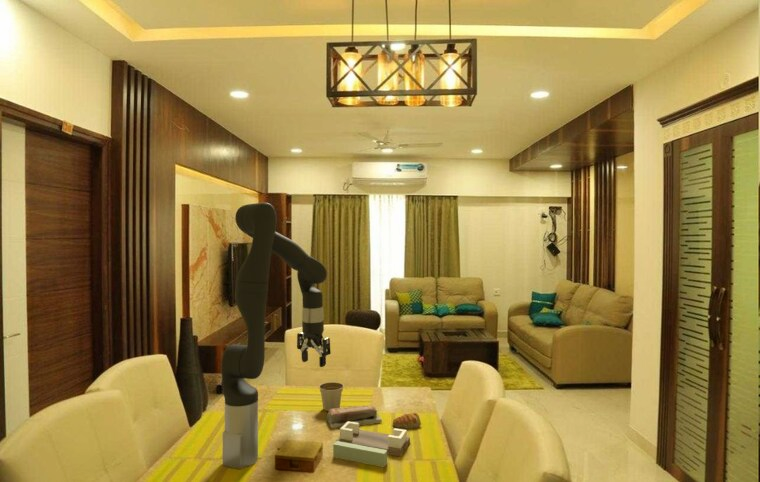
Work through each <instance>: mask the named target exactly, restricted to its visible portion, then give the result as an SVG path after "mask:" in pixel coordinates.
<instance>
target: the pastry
mask: <svg viewBox="0 0 760 482" xmlns="http://www.w3.org/2000/svg"><path fill="white" fill-rule="evenodd" d="M392 426H394V428H396V429H415V427H416V428H420V427H421V426H422V422H421V419H420V415H419V414H418V413H417V412H413V413H405V414H403V415H400V416H397V417H396V418H394V419H393V421H392ZM419 426H420V427H419Z"/></svg>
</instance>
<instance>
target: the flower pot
mask: <svg viewBox="0 0 760 482" xmlns="http://www.w3.org/2000/svg"><path fill="white" fill-rule="evenodd" d="M344 387H345V385H344V383H341V382H337V381H331V382H330V381H329V382H324V383H321V384H319V385H318V389H319V391H320V395H321V402H322V408H323V409H322V410H324V411H325V412H326V411H327V412H329V410H330V409H334V408H341V400H342V392H343V389H344Z"/></svg>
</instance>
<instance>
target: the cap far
mask: <svg viewBox="0 0 760 482" xmlns="http://www.w3.org/2000/svg"><path fill="white" fill-rule="evenodd" d="M359 430H360V426H359V423H356V422H350V421H348V422H347V423H346V424H344V425H343V426H342V427H341V428H339V437H340V439H346V440H352V439H353V433H357V434H358V433H359Z"/></svg>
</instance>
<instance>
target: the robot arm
mask: <svg viewBox="0 0 760 482" xmlns="http://www.w3.org/2000/svg"><path fill="white" fill-rule="evenodd" d="M234 217H235V223H236V226H237V227H238V228H239V230H240V231H241V232H242V233H244V234H245V235H247V236H249V237H250V238H252V241H251V247H250V250H249V253H248V254H247V256H246V258H245V260H244V261H243V263H242V265H241V267H240V268H239V271H238V272H237V275H236V282H235V291H234V292H235V293H234V300H235V305H236V306H237V308H238V311H239V313H240V315H241V316H242V317H241V318H242V319H243V322H244V324H245V327H246V333H247V344H230V345H228V346H227V347H225V350H224V351H223V354H222V357H221V383H222V385H221V386H222V395H223V397H224V431H223V432H222V466H224V467H228V468H232V469H237V470H241V469H243V468H245V467H248V466H251V465H253V464H255V463H256V462H258V460H259V391H258V389H257V388H256V387H255V386H253V385H251V384H249V383H248V382H247V381H246V379H248V380H255V379H258V378H259V377H260V376H261V374H262V372H263V369H264V365H265V356H266V355H265V353H266V352H265V349H266V348H265V343H266V342H265V341H266V339H265V337H266V336H265V335H266V333H265V330H266V329H265V327H266V325H265V324H266V313H267V312H266V310H267V301H268V290H269V281H270V280H269V279H270V277H269V275H270V267H271V258H272V252H273V253H274V254H275V255H277V257H279V258H280V259H281V260H282V261H283V262H284V263H286V265H287V266H289V267H290V268H291V269H292V270H294V271H297V277H296V278H297V281H298V285H299V289H300V293H301V295H302V311H301V320H302V322H301V325H302V328H301V330H302V331H301V332H298V333H297V334H296V348H297V350H300V352H301V361H302V363H306V362H308V361H309V348H312V349H314V350H315V351H316V352H317V353H318V355H319V357H318V359H319V363H318V364H319V367H320V368H324V367H325V366H326V365H327V364H326V363H327V356H329V355H331V353H332V352H331V339H330V337H324V336H323V334H324V330H325V327H324V325H325V324H324V323H325V320H324V319H325V317H324V306H323V305H324V301H323V297H324V296H323V292H322V291H321V290H320V289H318V288H316V285H318V284H319V285H320V284H322V283H324V282H325V281H326V280H327V276H328V271H327V268H326V266H325V265H324V264H323V263H322V262H320V261H319V260H317V259H316V258H314V257H313V256H311V255H309V254H308V253H307V252H306V251H305V250H304V249H303V248H302V247H301V246H299V244H298V243H296V242H295V241H293V240H292V239H290V238H288V237H286V236H284V235H282V234H281V233H279V232H277V231H276V228H277V222H278V221H277V219H278V218H277V217H278V216H277V212H276V209H275V207H274V206H273V205H272V204H271V203H268V202H256V203H249V204H244V205H241V206H240V207H239V208H238V209H237V211H236V212H235V216H234Z"/></svg>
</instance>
